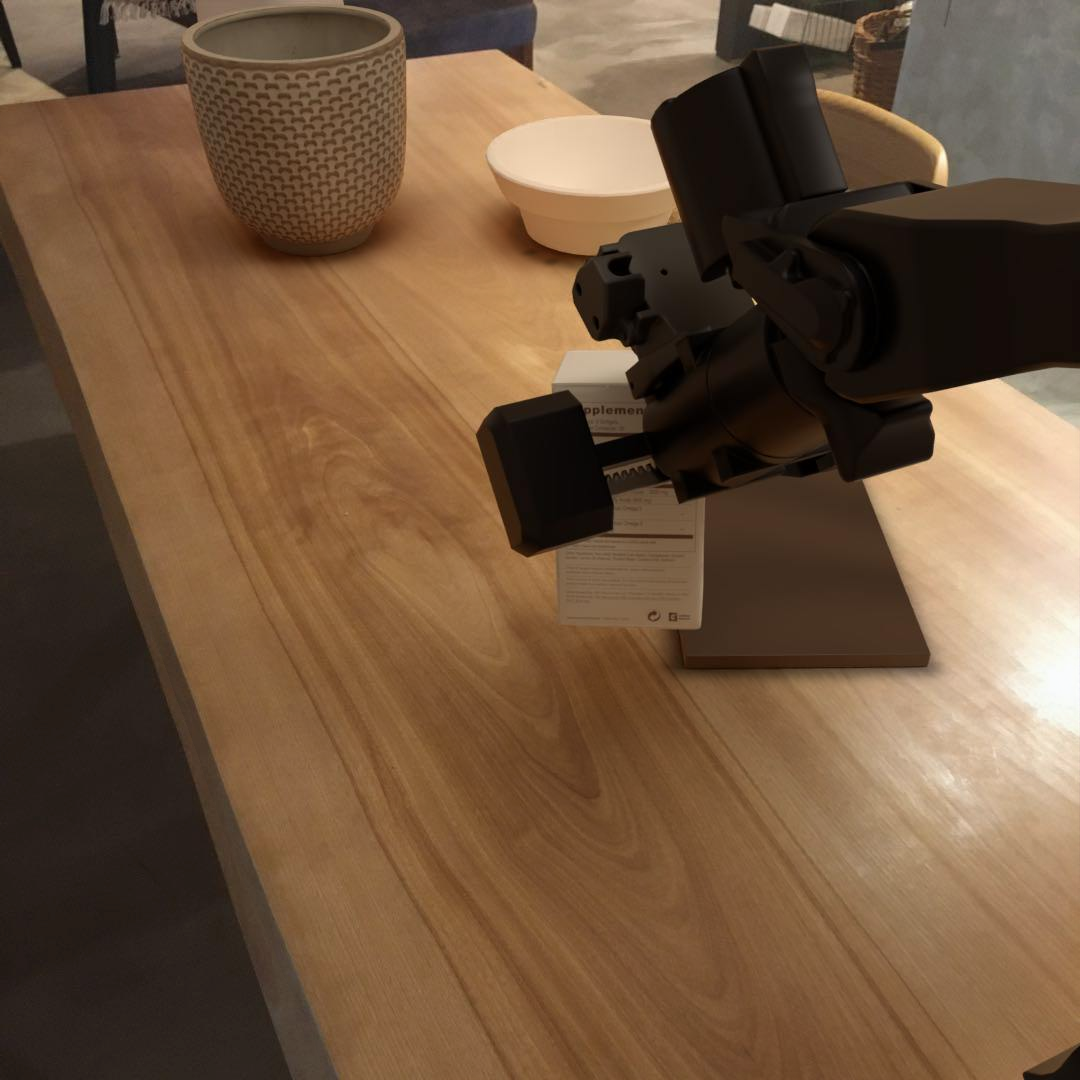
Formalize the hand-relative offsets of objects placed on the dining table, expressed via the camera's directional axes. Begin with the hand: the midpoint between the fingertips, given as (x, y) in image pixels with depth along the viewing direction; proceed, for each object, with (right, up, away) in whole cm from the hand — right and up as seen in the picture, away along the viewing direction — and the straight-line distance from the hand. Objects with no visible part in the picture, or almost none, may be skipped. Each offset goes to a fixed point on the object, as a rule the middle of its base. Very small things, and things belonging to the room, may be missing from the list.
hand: (627, 476), depth 59 cm
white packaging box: (0, -7, +3) cm, 7 cm away
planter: (-26, +27, +57) cm, 68 cm away
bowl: (+1, +27, +57) cm, 63 cm away
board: (+11, -1, +21) cm, 24 cm away
